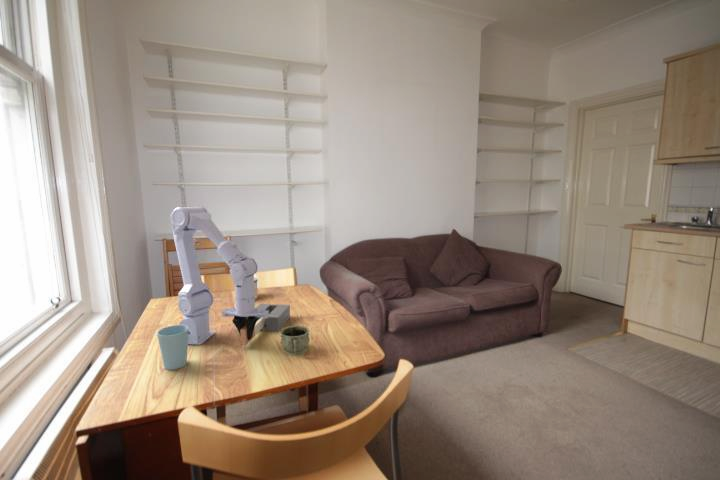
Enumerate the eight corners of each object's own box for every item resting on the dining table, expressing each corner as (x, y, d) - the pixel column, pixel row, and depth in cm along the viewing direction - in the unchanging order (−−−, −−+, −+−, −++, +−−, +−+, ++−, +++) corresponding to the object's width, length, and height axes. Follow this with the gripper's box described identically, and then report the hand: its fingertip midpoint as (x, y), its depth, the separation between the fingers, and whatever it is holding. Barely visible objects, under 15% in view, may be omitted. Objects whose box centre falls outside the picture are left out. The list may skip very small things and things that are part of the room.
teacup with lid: (237, 296, 158) (236, 272, 156) (257, 294, 161) (256, 271, 159) (237, 304, 146) (236, 278, 145) (259, 302, 149) (258, 277, 148)
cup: (171, 357, 98) (168, 324, 96) (196, 358, 97) (194, 325, 96) (153, 371, 90) (150, 335, 89) (180, 372, 90) (178, 336, 88)
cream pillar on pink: (245, 345, 103) (245, 330, 102) (240, 345, 103) (240, 329, 103) (269, 321, 123) (268, 308, 122) (264, 321, 123) (264, 308, 122)
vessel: (281, 342, 109) (281, 324, 108) (308, 340, 111) (308, 322, 110) (280, 360, 97) (279, 339, 96) (310, 357, 99) (310, 337, 98)
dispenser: (277, 331, 117) (277, 316, 116) (245, 330, 118) (244, 314, 118) (289, 317, 131) (289, 302, 131) (260, 315, 132) (260, 301, 132)
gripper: (272, 294, 107) (273, 334, 109) (228, 292, 108) (230, 332, 110) (263, 301, 100) (265, 343, 102) (217, 299, 101) (220, 341, 103)
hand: (246, 338), depth 105 cm, fingers closed on cream pillar on pink, 2 cm apart
